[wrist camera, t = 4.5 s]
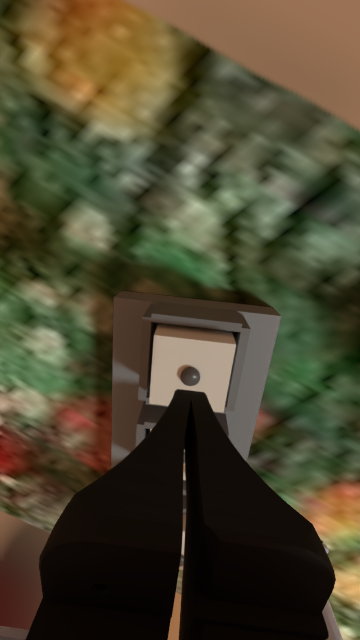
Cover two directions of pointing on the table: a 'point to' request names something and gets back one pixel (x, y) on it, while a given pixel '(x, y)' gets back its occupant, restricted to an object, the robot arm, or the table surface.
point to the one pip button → (191, 363)
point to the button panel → (136, 363)
